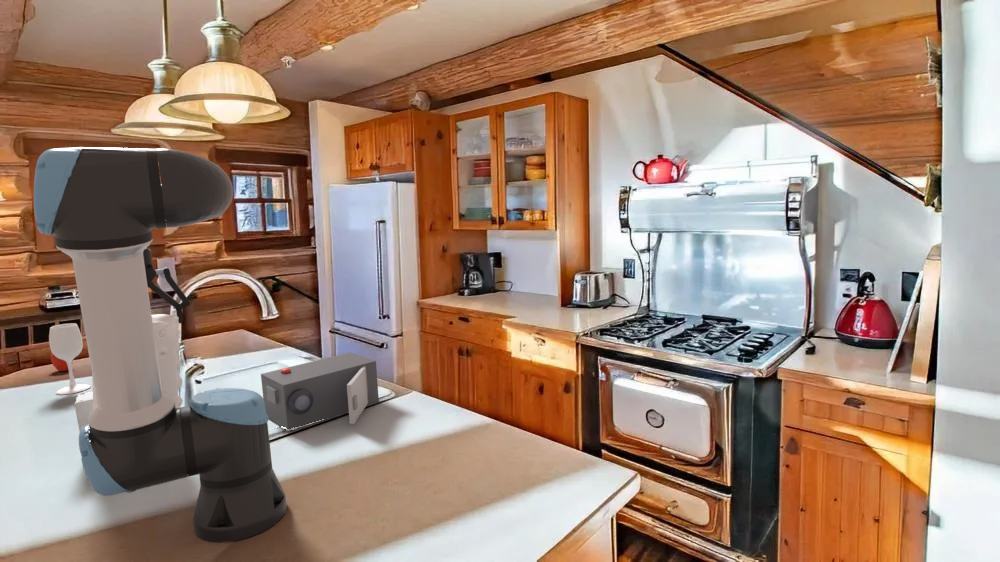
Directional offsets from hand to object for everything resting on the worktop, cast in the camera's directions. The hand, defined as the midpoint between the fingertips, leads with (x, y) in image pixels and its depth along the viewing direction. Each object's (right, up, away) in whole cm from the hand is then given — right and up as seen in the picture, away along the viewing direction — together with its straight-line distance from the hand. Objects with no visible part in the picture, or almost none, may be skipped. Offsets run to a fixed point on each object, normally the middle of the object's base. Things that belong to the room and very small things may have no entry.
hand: (143, 342), depth 125 cm
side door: (+44, -20, +19) cm, 52 cm away
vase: (+2, -26, -4) cm, 26 cm away
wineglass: (-55, -21, +51) cm, 78 cm away
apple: (-76, -18, +74) cm, 107 cm away
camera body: (+33, -21, +25) cm, 46 cm away
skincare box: (-11, -27, +2) cm, 29 cm away
